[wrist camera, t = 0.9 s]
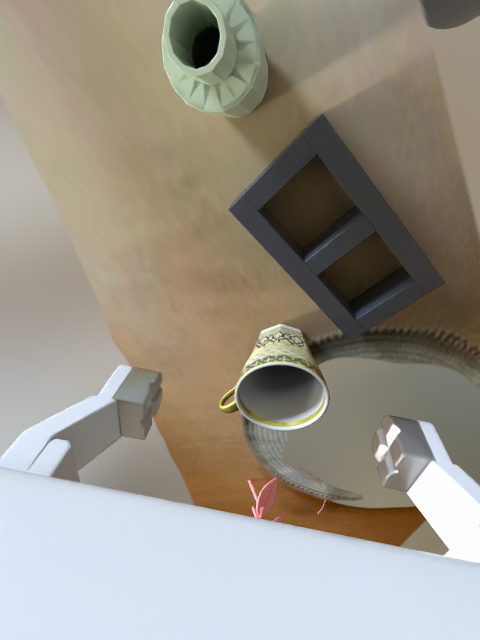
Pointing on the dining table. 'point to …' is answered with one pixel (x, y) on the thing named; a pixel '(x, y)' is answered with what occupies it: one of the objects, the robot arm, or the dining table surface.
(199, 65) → the bottle
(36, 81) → the dining table surface
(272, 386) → the ceramic cup
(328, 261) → the holder
